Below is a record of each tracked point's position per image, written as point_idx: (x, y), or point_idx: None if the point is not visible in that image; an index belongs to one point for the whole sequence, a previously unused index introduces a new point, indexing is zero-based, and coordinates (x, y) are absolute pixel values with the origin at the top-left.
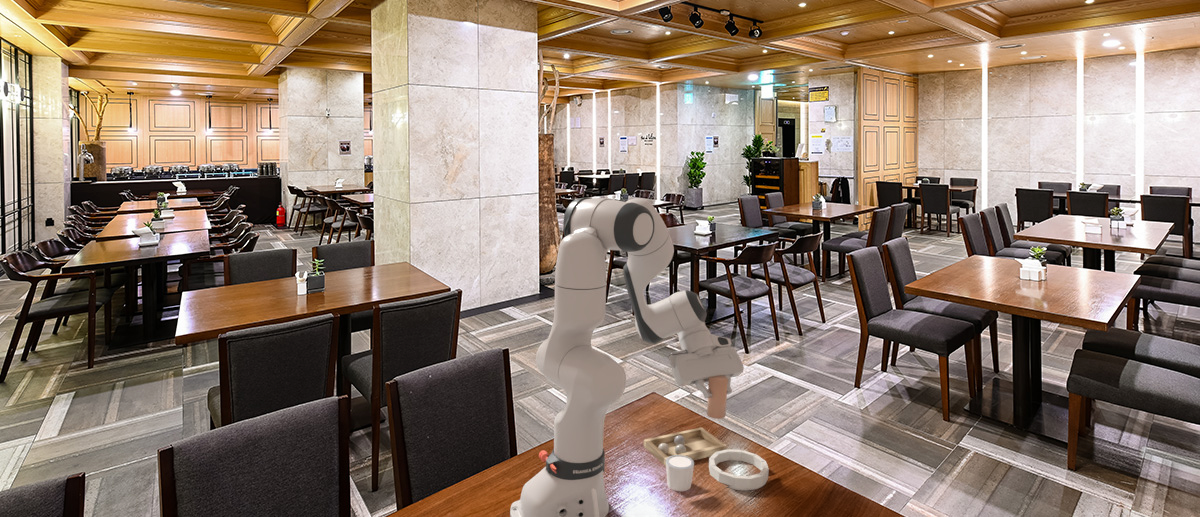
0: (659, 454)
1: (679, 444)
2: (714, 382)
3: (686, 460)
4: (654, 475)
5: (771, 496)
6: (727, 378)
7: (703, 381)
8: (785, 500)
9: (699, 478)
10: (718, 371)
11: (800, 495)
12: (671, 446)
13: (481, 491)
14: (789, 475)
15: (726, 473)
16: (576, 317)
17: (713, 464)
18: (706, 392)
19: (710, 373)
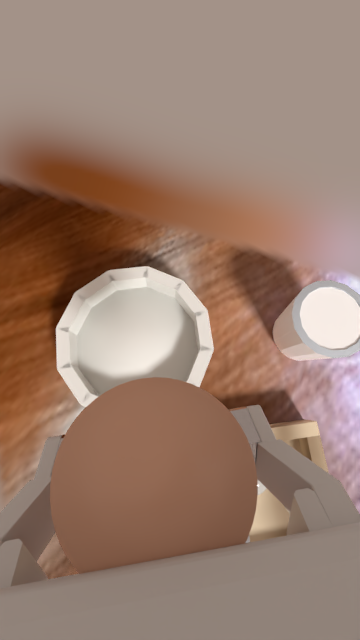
0: (325, 462)
1: (258, 485)
2: (229, 413)
3: (311, 319)
4: (339, 402)
5: (116, 248)
6: (59, 449)
7: (301, 511)
8: (97, 229)
9: (236, 357)
10: (83, 630)
11: (54, 235)
12: (253, 536)
13: None
14: (18, 308)
15: (191, 303)
16: None
17: (203, 352)
18: (269, 425)
19: (221, 592)
